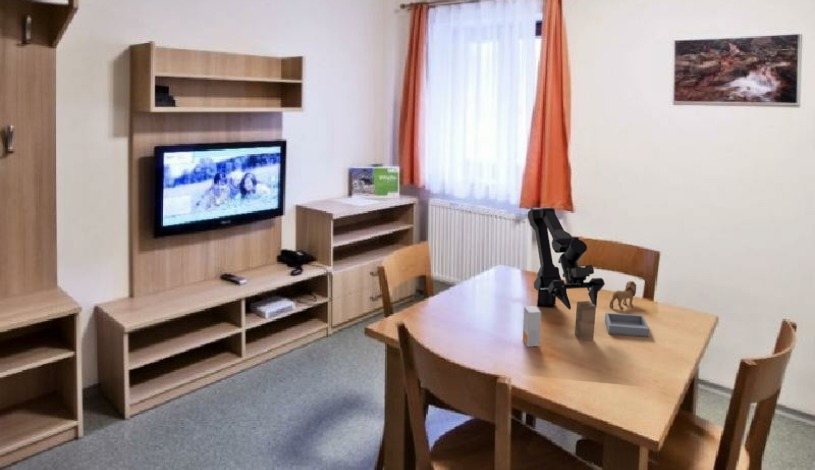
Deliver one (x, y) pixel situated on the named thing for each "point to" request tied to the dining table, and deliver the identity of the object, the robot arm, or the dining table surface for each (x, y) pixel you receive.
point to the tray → (626, 324)
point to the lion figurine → (624, 294)
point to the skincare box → (531, 326)
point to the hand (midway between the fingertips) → (582, 308)
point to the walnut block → (585, 320)
